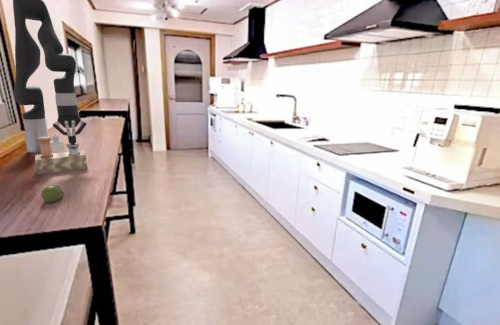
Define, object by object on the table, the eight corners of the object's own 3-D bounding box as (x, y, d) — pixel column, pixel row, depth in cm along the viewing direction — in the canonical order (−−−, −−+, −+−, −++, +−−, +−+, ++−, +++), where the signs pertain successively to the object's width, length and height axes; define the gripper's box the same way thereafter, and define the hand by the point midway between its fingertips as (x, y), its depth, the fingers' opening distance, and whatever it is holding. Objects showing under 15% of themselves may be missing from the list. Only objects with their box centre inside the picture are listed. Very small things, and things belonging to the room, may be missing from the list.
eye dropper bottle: (64, 158, 141) (60, 134, 137) (50, 158, 139) (46, 134, 135) (66, 155, 145) (62, 132, 141) (53, 156, 143) (49, 132, 139)
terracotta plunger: (40, 163, 119) (36, 139, 116) (41, 160, 123) (37, 137, 120) (54, 161, 121) (50, 138, 119) (54, 158, 125) (50, 136, 122)
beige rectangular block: (37, 174, 117) (34, 160, 116) (38, 168, 125) (35, 155, 123) (87, 168, 127) (85, 154, 125) (85, 162, 134) (83, 150, 133)
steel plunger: (70, 168, 125) (66, 145, 122) (69, 165, 129) (66, 143, 126) (82, 166, 128) (79, 144, 125) (81, 163, 132) (78, 142, 129)
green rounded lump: (37, 188, 89) (46, 183, 98) (39, 205, 90) (48, 198, 99) (58, 186, 91) (65, 181, 100) (60, 202, 92) (66, 195, 101)
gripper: (84, 102, 127) (89, 141, 132) (47, 103, 120) (54, 143, 125) (85, 104, 121) (90, 144, 126) (47, 105, 114) (54, 147, 119)
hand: (72, 144), depth 126 cm, fingers closed
